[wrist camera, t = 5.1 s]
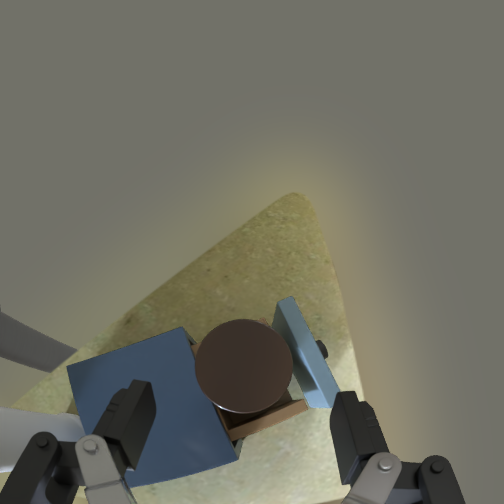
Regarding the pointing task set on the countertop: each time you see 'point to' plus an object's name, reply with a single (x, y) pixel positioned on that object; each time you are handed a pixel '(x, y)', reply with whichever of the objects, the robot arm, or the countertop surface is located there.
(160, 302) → the countertop surface
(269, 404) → the pepper mill
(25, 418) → the bottle
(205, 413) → the cabinet
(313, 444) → the countertop surface
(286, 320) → the drawer
